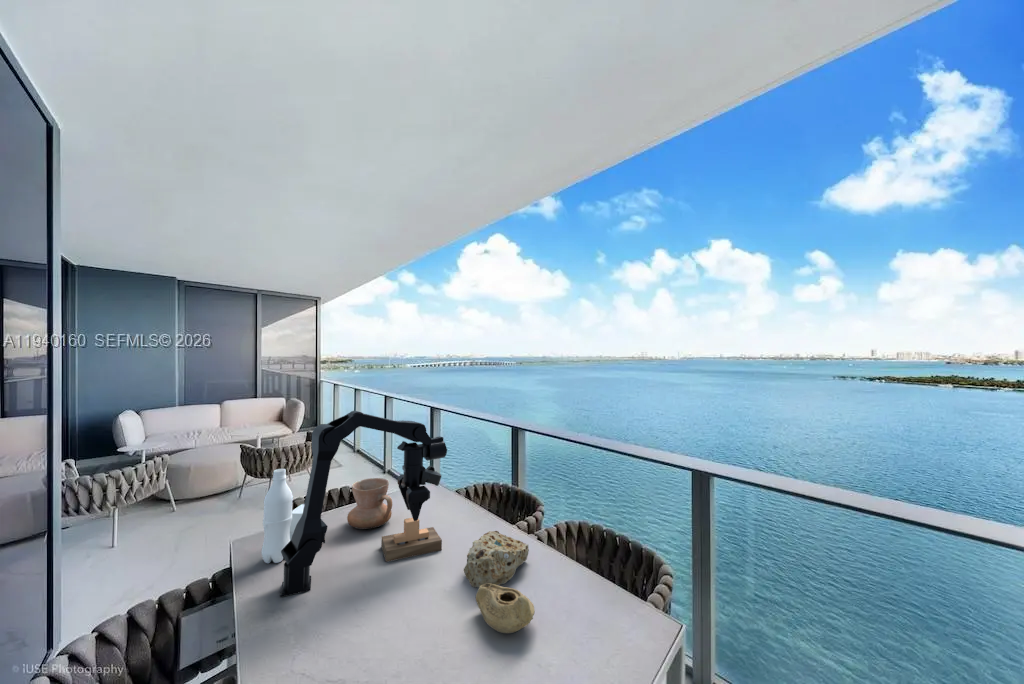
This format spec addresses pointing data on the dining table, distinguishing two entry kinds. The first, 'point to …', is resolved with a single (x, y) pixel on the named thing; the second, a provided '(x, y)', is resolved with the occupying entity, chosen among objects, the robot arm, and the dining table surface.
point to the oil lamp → (504, 608)
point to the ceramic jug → (370, 503)
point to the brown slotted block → (410, 546)
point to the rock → (494, 559)
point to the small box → (296, 518)
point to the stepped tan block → (411, 532)
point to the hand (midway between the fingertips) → (412, 514)
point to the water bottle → (277, 518)
